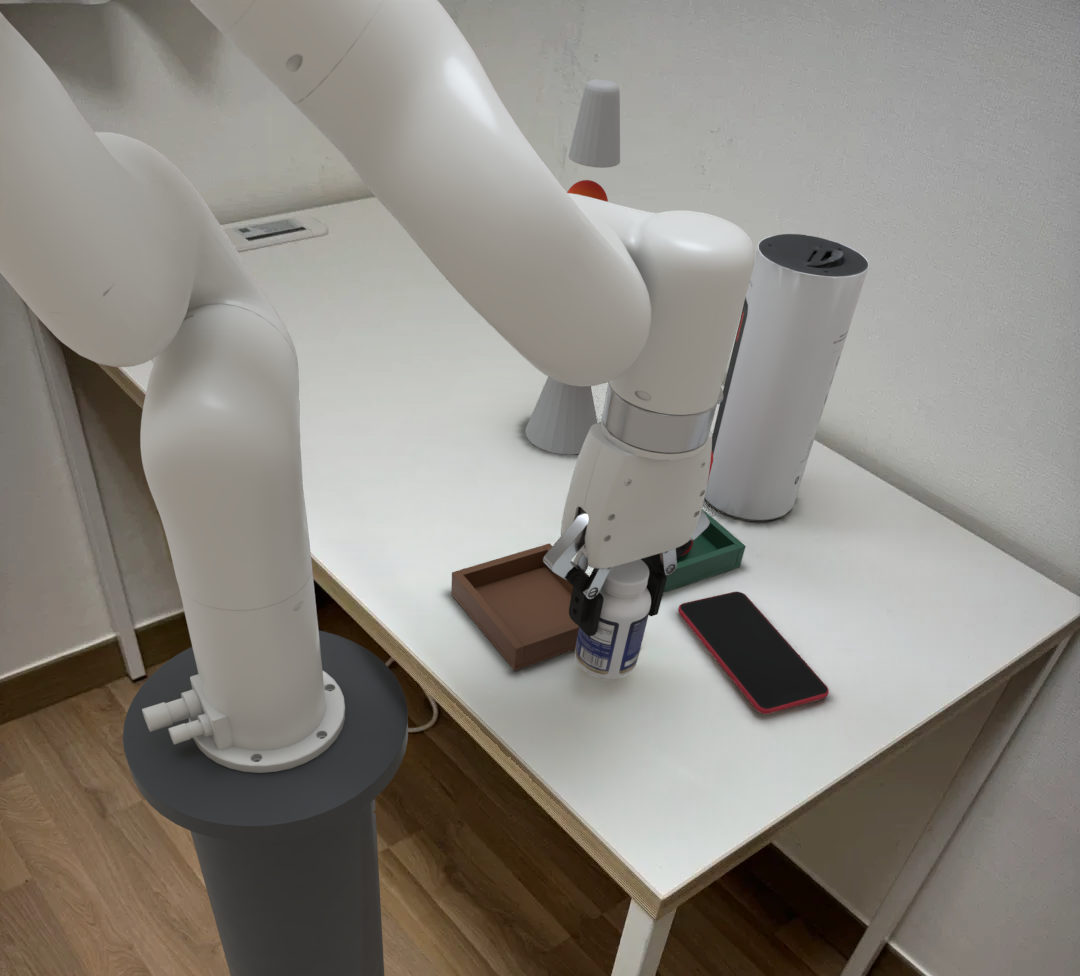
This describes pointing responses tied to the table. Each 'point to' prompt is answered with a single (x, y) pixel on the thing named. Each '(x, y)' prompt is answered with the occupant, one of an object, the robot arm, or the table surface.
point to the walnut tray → (519, 606)
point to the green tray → (707, 556)
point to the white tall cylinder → (781, 372)
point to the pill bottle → (617, 623)
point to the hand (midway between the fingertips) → (613, 613)
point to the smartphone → (753, 652)
